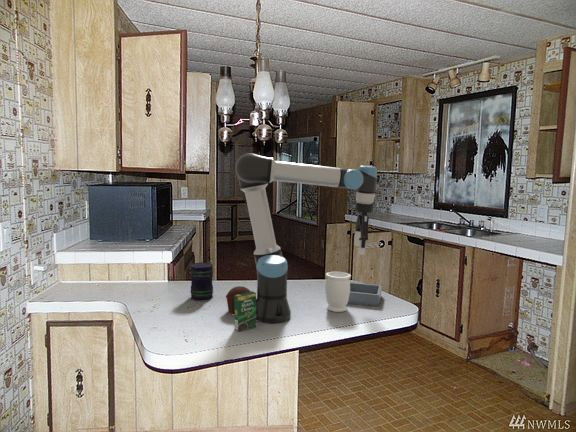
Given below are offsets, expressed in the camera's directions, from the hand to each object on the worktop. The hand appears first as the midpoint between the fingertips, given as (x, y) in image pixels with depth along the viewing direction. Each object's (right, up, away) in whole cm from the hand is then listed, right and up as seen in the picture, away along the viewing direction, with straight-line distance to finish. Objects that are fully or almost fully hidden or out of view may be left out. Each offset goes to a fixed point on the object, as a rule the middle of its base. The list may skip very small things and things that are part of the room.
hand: (359, 250), depth 180 cm
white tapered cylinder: (-11, -24, -7) cm, 28 cm away
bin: (+3, -23, +8) cm, 24 cm away
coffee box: (-47, -26, -30) cm, 62 cm away
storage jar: (-70, -22, +4) cm, 73 cm away
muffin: (-51, -24, -13) cm, 58 cm away
